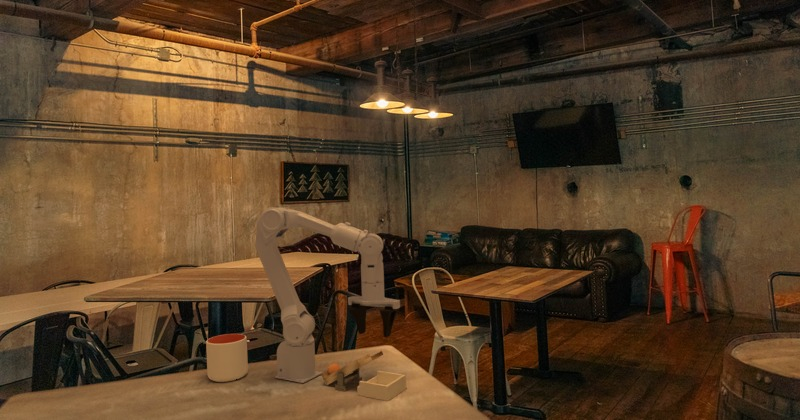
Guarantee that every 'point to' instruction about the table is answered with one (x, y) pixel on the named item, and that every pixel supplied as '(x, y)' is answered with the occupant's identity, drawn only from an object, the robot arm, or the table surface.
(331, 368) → the ball
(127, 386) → the table surface
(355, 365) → the catapult lever
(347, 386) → the pivot bracket
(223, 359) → the cup
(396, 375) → the tray
